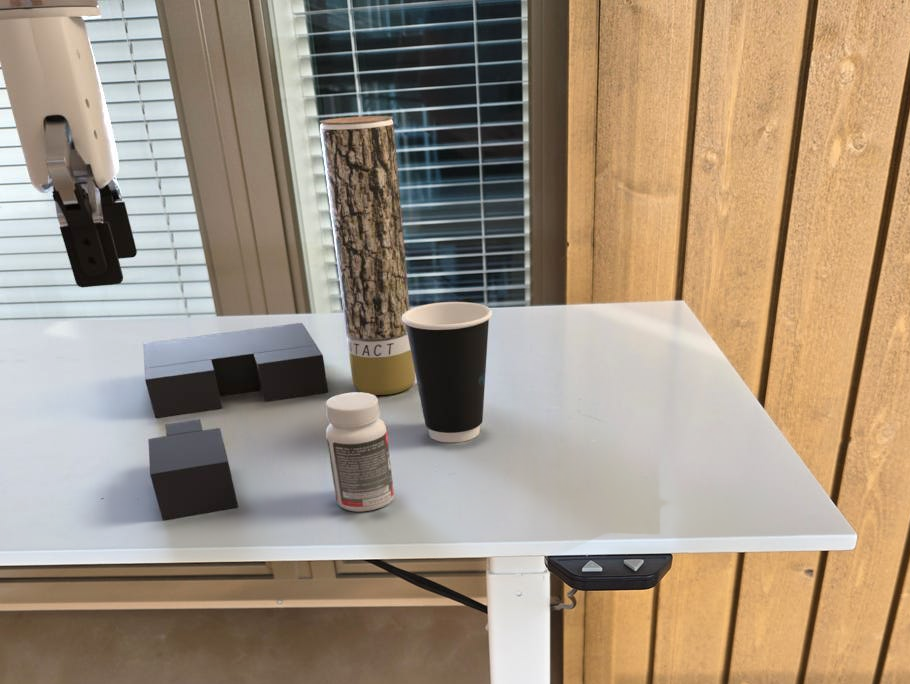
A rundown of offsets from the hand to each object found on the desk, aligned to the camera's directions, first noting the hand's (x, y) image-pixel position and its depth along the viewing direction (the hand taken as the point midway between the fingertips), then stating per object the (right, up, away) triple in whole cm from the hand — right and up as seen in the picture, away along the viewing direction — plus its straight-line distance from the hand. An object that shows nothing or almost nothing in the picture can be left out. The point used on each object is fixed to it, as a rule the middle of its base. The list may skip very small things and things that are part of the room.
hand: (109, 270), depth 67 cm
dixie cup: (+26, -9, +16) cm, 32 cm away
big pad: (+1, 0, +31) cm, 31 cm away
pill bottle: (+19, -17, +5) cm, 26 cm away
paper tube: (+18, -1, +28) cm, 33 cm away
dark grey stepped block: (+4, -15, +9) cm, 18 cm away
